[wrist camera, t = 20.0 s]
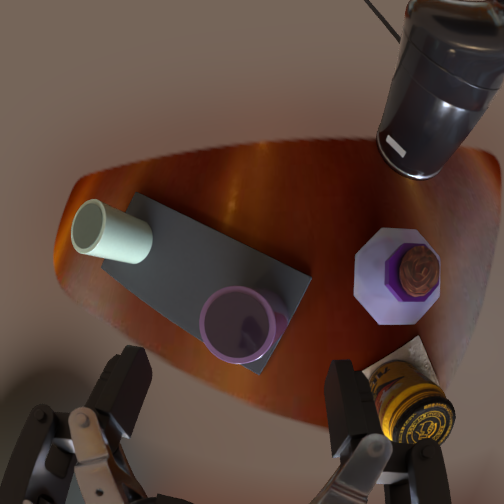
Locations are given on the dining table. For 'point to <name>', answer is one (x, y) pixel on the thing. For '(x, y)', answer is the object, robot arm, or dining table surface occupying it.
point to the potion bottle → (397, 276)
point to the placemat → (199, 269)
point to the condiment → (410, 396)
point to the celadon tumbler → (110, 233)
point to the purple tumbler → (242, 322)
